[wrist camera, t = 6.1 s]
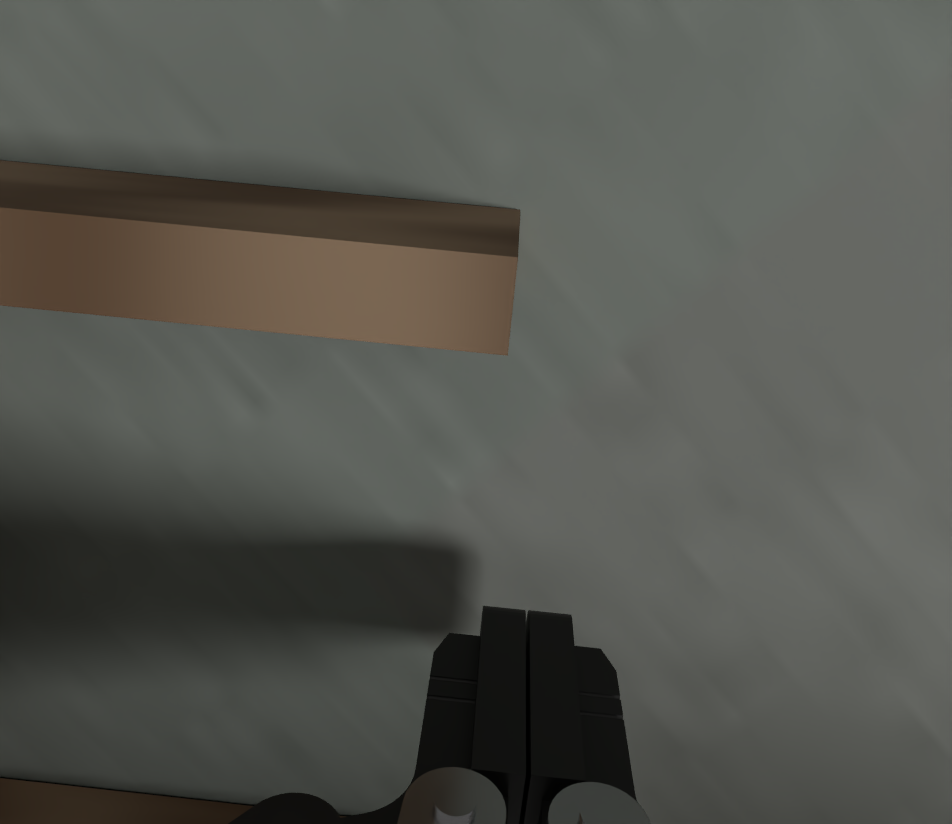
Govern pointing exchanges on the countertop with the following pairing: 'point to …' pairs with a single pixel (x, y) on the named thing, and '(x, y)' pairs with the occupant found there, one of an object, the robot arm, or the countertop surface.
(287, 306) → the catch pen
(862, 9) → the countertop surface
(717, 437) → the countertop surface
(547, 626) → the robot arm
